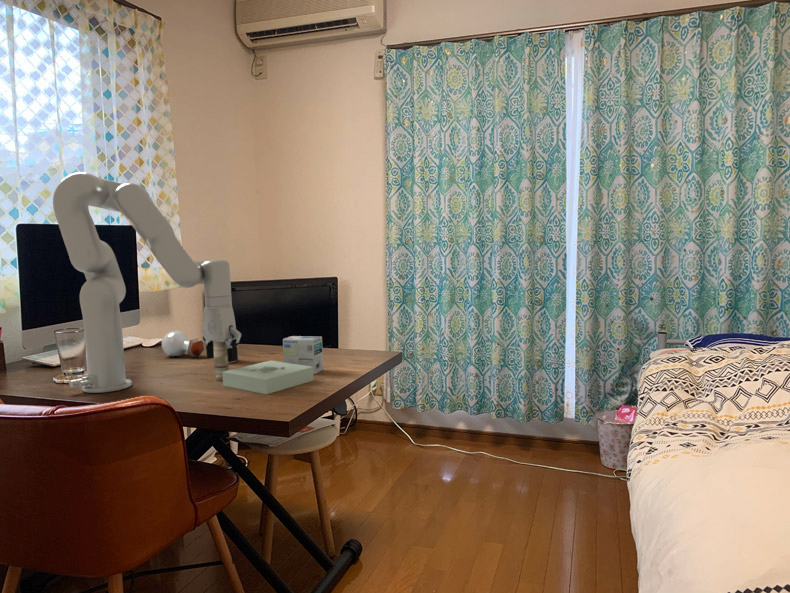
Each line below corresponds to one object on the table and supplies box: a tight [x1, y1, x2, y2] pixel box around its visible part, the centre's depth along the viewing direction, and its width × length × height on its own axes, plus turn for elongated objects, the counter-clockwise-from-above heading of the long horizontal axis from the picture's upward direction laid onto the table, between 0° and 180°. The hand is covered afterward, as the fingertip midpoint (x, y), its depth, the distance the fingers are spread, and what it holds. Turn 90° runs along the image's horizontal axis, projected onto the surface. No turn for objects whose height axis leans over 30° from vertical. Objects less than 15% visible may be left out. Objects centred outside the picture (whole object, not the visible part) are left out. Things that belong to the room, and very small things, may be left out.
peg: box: [213, 341, 230, 381], centre depth 171 cm, size 4×4×12 cm
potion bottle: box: [161, 330, 205, 358], centre depth 208 cm, size 9×10×15 cm
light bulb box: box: [282, 335, 324, 375], centre depth 179 cm, size 11×7×11 cm, turn 74°
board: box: [222, 360, 315, 395], centre depth 165 cm, size 18×18×4 cm
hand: (222, 359), depth 171 cm, fingers open, 9 cm apart
